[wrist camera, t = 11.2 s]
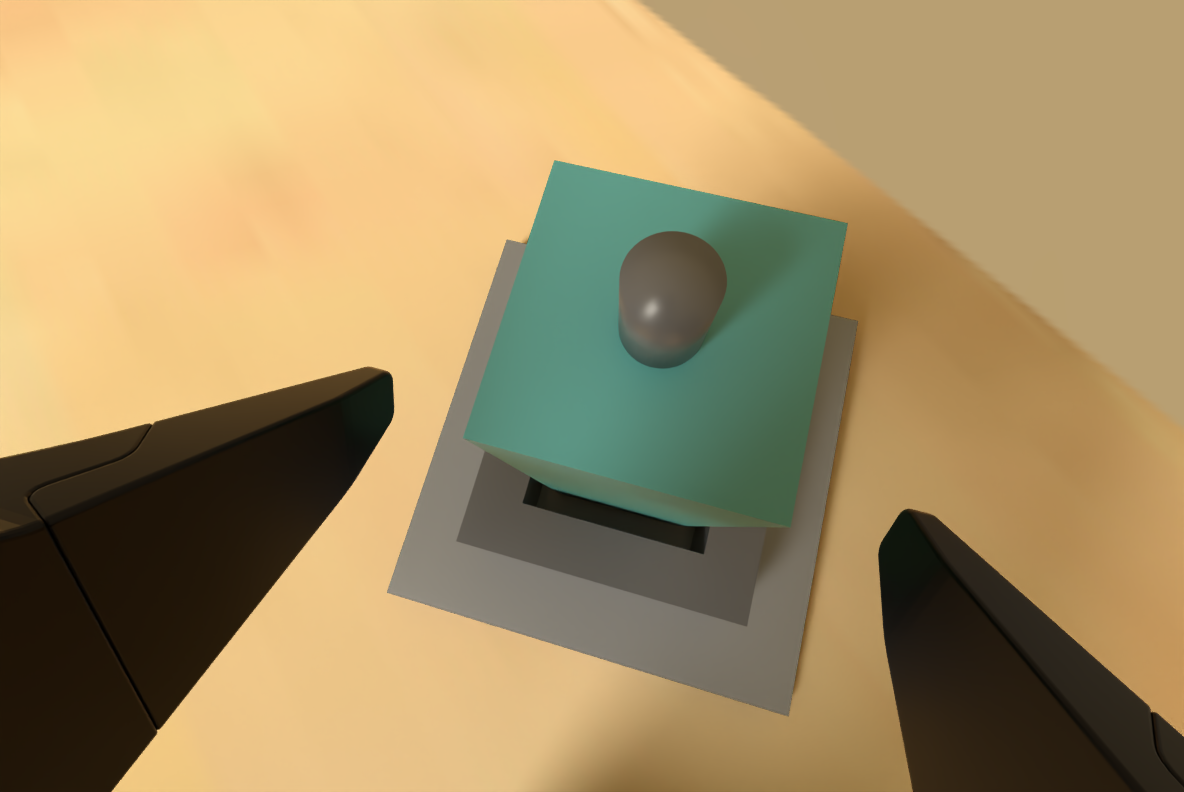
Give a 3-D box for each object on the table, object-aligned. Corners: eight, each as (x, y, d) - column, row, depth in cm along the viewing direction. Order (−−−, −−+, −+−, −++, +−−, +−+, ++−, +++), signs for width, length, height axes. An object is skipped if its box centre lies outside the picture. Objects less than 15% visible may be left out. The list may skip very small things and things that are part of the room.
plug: (678, 526, 19) (837, 529, 5) (557, 492, 19) (425, 416, 6) (705, 407, 20) (901, 154, 6) (590, 378, 20) (541, 81, 7)
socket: (779, 706, 18) (823, 754, 15) (397, 589, 20) (344, 605, 16) (847, 330, 21) (898, 287, 18) (511, 251, 23) (490, 195, 19)
